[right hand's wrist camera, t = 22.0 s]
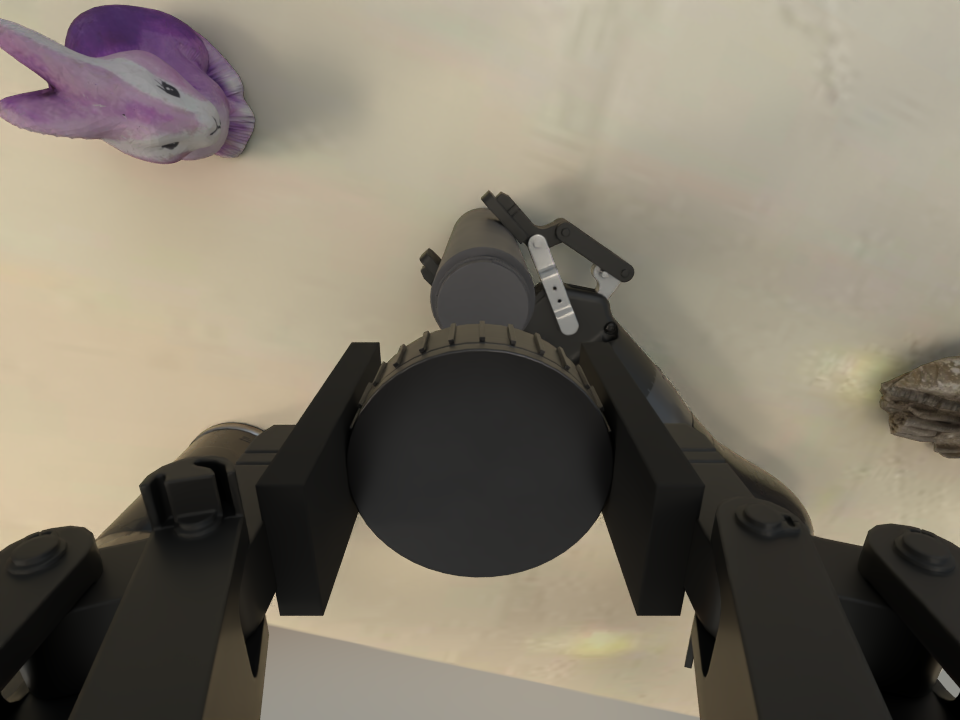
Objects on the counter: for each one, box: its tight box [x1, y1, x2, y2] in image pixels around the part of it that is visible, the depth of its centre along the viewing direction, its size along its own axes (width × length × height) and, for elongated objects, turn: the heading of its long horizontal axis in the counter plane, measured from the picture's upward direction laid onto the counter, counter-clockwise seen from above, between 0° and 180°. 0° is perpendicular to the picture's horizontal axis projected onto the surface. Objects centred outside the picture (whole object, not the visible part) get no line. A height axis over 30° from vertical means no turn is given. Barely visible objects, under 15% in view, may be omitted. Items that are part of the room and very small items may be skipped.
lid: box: [346, 321, 614, 577], centre depth 11 cm, size 6×6×2 cm
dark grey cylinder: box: [430, 208, 535, 331], centre depth 31 cm, size 5×5×19 cm
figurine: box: [0, 5, 255, 164], centre depth 30 cm, size 9×10×15 cm
